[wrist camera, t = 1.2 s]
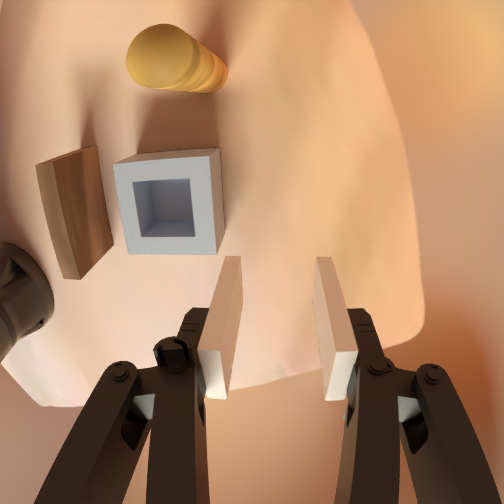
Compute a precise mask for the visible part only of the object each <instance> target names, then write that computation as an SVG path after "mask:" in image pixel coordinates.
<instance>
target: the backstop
mask: <svg viewBox="0 0 504 504" xmlns="http://www.w3.org/2000/svg"><path fill="white" fill-rule="evenodd" d="M35 166H36V172H37V178H38V183H39V188H40V193H41V198H42V203H43V207H44V212H45V216H46V220H47V224H48V228H49V232H50V235H51V239H52V243H53V246H54V250H55V253H56V256H57V260H58V263H59V266H60V269H61V272H62V275H63V278H64V279H76V280H81V279H82V278H83V277H84V276H85V275H86V274H87V272H88V271H89V270H90V269H91V268H92V267H93V266H94V265H95V264H96V263H97V262H98V261H99V260H100V259H101V258H102V257H103V256H104V255H105V253H106V252H107V251H108V250H109V249H110V248H111V247H112V246H113V245H114V244H113V239H112V235H111V230H110V225H109V220H108V215H107V210H106V204H105V199H104V193H103V187H102V181H101V174H100V167H99V160H98V152H97V146H93V147H88V148H82V149H78V150H75V151H72V152H70V153H67V154H64V155H61V156H58V157H56V158H53V159H50V160H48V161H45V162H43V163H40V164H38V165H35Z"/></svg>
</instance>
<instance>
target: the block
mask: <svg viewBox="0 0 504 504" xmlns="http://www.w3.org/2000/svg"><path fill="white" fill-rule="evenodd" d="M113 171H114V178H115V184H116V191H117V197H118V203H119V209H120V214H121V220H122V225H123V230H124V235H125V240H126V245H127V250H128V254H169V255H217V253H218V250H219V248H220V245H221V242H222V240H223V237H224V234H225V227H224V212H223V196H222V180H221V162H220V148H205V149H189V150H175V151H164V152H153V153H143V154H135V155H133V156H130V157H128V158H126V159H123V160H121V161H119V162H117V163H115V164H113Z"/></svg>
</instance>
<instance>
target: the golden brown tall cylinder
mask: <svg viewBox="0 0 504 504" xmlns="http://www.w3.org/2000/svg"><path fill="white" fill-rule="evenodd" d="M126 65H127V70H128V72H129V74H130V76H131V77H132V79H133V80H134V81H135V82H137V83H138V84H140V85H142V86H144V87H148V88H159V89H170V90H180V91H189V92H197V93H212V92H214V91H216V90H218V89H219V88H221V87H222V85H223V84H224V83H225V81H226V78H227V68H226V65H225V63H224V62H223V61H222V60H221V59H220V58H219V57H217V56H216V55H215V54H214V53H212V52H211V51H210V50H209V49H207V48H206V47H205V46H203V45H202V44H201V43H199V42H198V41H197V40H195V39H194V38H193V37H191V36H190V35H189V34H187V33H186V32H184V31H183V30H182V29H180V28H178V27H176V26H174V25H170V24H158V25H154V26H151V27H148V28H147V29H145V30H143V31H142V32H141V33H139V34H138V35H137V36H136V37H135V38H134V40H133V41H132V43H131V45H130V47H129V49H128V52H127V57H126Z"/></svg>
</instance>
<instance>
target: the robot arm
mask: <svg viewBox="0 0 504 504" xmlns="http://www.w3.org/2000/svg"><path fill="white" fill-rule="evenodd" d="M312 302H313V309H314V316H315V323H316V330H317V337H318V345H319V353H320V361H321V369H322V377H323V386H324V395H325V400H326V401H328V400H344V399H345V396H346V393H347V396H348V401H349V402H348V405H347V408H346V410H345V413H344V416H343V420H345V426H344V436H343V445H342V453H341V461H340V469H339V476H338V482H337V488H336V495H335V501H334V504H398V500H399V478H400V473H399V472H400V438H401V442H402V445H403V449H404V452H405V456H406V459H407V463H408V467H409V470H410V474H411V477H412V482H413V485H414V489H415V494H416V497H417V502H418V504H502V503H501V500H500V496H499V494H498V490H497V487H496V484H495V482H494V479H493V476H492V473H491V471H490V468H489V465H488V463H487V460H486V457H485V455H484V452H483V450H482V448H481V445H480V443H479V440H478V438H477V435H476V433H475V431H474V429H473V426H472V424H471V422H470V420H469V417H468V415H467V413H466V411H465V409H464V407H463V404H462V402H461V400H460V398H459V396H458V394H457V392H456V390H455V388H454V386H453V384H452V382H451V380H450V378H449V376H448V374H447V373H446V372H445V370H444V369H443V368H441V367H440V366H438V365H435V364H424V365H422V366H420V367H419V368H418V369H417V371H416V372H413V371H408V370H402V369H399V368H396V367H395V366H394V364H393V362H392V361H390V359H388V358H386V357H385V356H384V353H383V350H382V347H381V344H380V341H379V338H378V335H377V332H376V330H375V327H374V325H373V321H372V318H371V316H370V315H369V314H368V313H367V312H366V311H365V310H364V309H363V308H355V309H347V307H346V304H345V300H344V297H343V294H342V290H341V287H340V284H339V280H338V277H337V274H336V271H335V267H334V264H333V261H332V258H331V257H316V266H315V279H314V290H313V301H312ZM242 305H243V291H242V272H241V256H225V260H224V263H223V266H222V269H221V272H220V276H219V279H218V282H217V285H216V289H215V292H214V295H213V298H212V302H211V305H210V308H192V309H191V310H190V311H189V312H187V313H186V314H185V317H184V319H183V322H182V324H181V327H180V331H179V332H178V335H177V337H176V336H173V337H167V338H165V339H162V340H160V341H159V342H158V343H157V344H156V345H155V347H154V349H153V351H154V355H155V358H156V361H157V364H158V366H155V367H151V368H144V369H137V368H136V366H135V365H134V364H133V363H130V362H128V361H119V362H115V363H113V364H111V365H110V366H108V368H107V369H106V370H105V371H104V373H103V375H102V376H101V378H100V380H99V381H98V383H97V385H96V386H95V388H94V390H93V392H92V393H91V395H90V397H89V399H88V400H87V402H86V404H85V406H84V407H83V409H82V411H81V413H80V415H79V416H78V418H77V420H76V422H75V424H74V425H73V427H72V429H71V431H70V433H69V435H68V436H67V438H66V440H65V442H64V444H63V446H62V448H61V450H60V452H59V453H58V456H57V457H56V459H55V461H54V463H53V465H52V467H51V469H50V471H49V473H48V475H47V477H46V479H45V481H44V483H43V485H42V487H41V489H40V492H39V494H38V496H37V498H36V500H35V502H34V504H122V502H123V500H124V497H125V494H126V492H127V489H128V486H129V483H130V481H131V478H132V475H133V473H134V470H135V467H136V465H137V462H138V460H139V457H140V454H141V452H142V449H143V447H144V444H145V441H146V439H147V436H148V434H149V431H150V429H151V435H150V446H149V459H148V473H147V490H146V504H210V497H209V481H208V465H207V442H206V415H205V414H206V412H205V404H204V397H205V393H207V397H208V398H215V399H227V396H228V390H229V384H230V378H231V372H232V366H233V359H234V353H235V347H236V341H237V335H238V329H239V323H240V317H241V311H242ZM53 311H54V300H53V295H52V292H51V289H50V286H49V284H48V282H47V280H46V278H45V276H44V274H43V273H42V271H41V269H40V268H39V267H38V265H37V264H36V263H35V261H34V260H33V259H32V258H31V257H30V256H29V255H28V254H27V253H26V252H25V251H23V250H22V249H21V248H19V247H17V246H15V245H13V244H10V243H2V244H0V363H1V362H2V360H3V359H4V358H5V356H6V355H7V354H8V352H9V351H10V350H11V348H12V347H13V346H14V345H15V343H16V342H17V341H18V340H20V339H22V338H24V337H26V336H27V335H29V334H31V333H33V332H35V331H37V330H39V329H40V328H42V327H43V326H44V325H45V324H46V323H47V321H48V320H49V319H50V318H51V316H52V314H53Z"/></svg>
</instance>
